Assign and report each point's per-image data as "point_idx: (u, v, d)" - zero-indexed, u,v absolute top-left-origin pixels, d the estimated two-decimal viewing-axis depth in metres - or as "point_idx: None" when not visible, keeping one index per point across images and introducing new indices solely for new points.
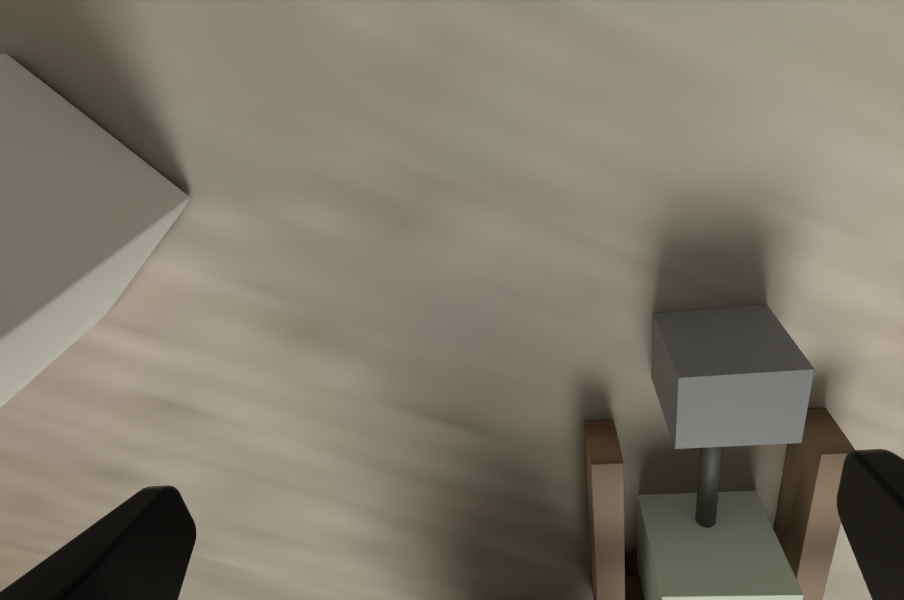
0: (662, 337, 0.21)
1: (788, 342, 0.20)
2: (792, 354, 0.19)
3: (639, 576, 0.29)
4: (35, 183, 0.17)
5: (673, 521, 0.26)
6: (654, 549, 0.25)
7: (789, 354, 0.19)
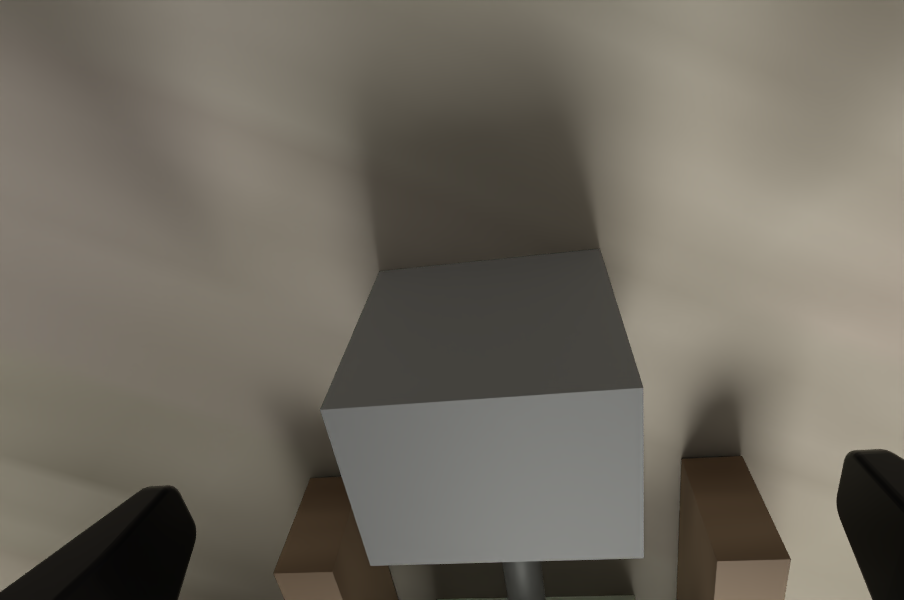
0: (361, 317, 0.10)
1: (609, 322, 0.08)
2: (606, 350, 0.08)
3: None
4: None
5: None
6: None
7: (599, 350, 0.08)
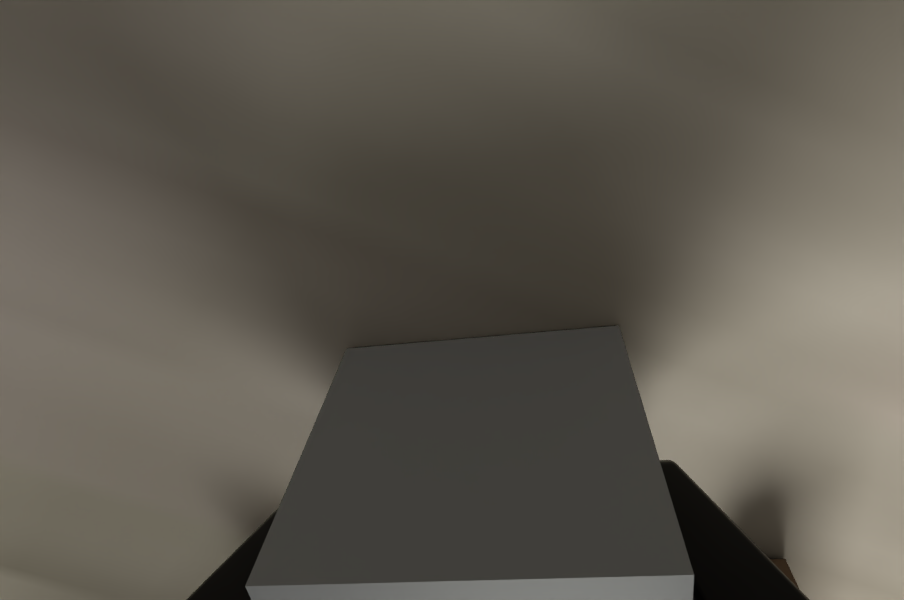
0: (318, 420, 0.08)
1: (638, 449, 0.06)
2: (636, 498, 0.06)
3: None
4: None
5: None
6: None
7: (627, 499, 0.06)
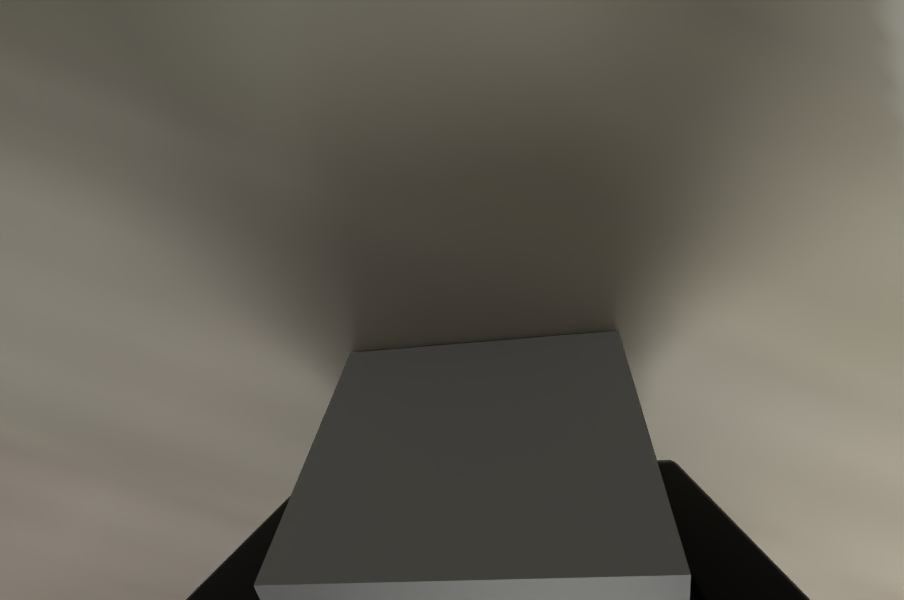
0: (323, 423, 0.08)
1: (637, 452, 0.07)
2: (635, 501, 0.06)
3: None
4: None
5: None
6: None
7: (626, 501, 0.06)
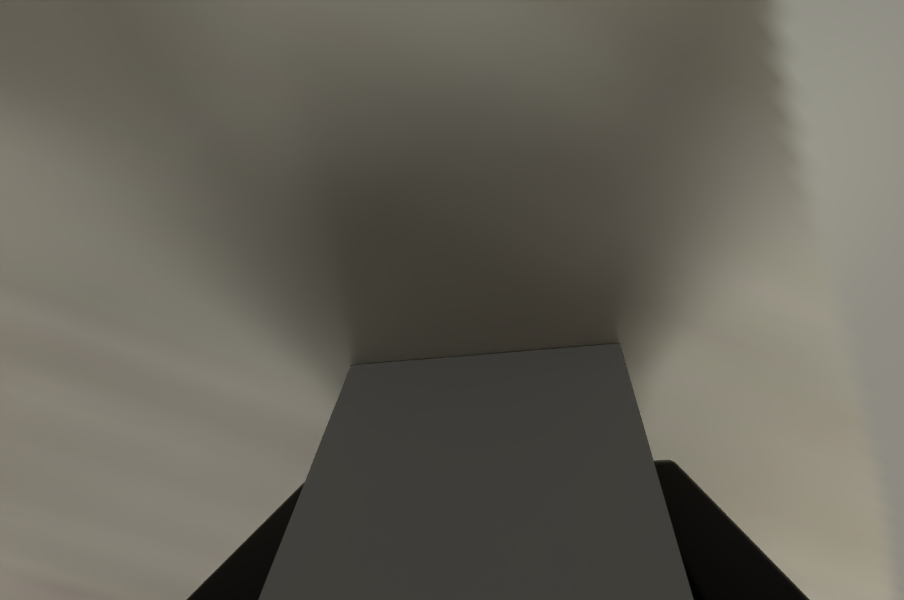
0: (324, 439, 0.08)
1: (639, 471, 0.07)
2: (638, 522, 0.06)
3: None
4: None
5: None
6: None
7: (628, 522, 0.06)
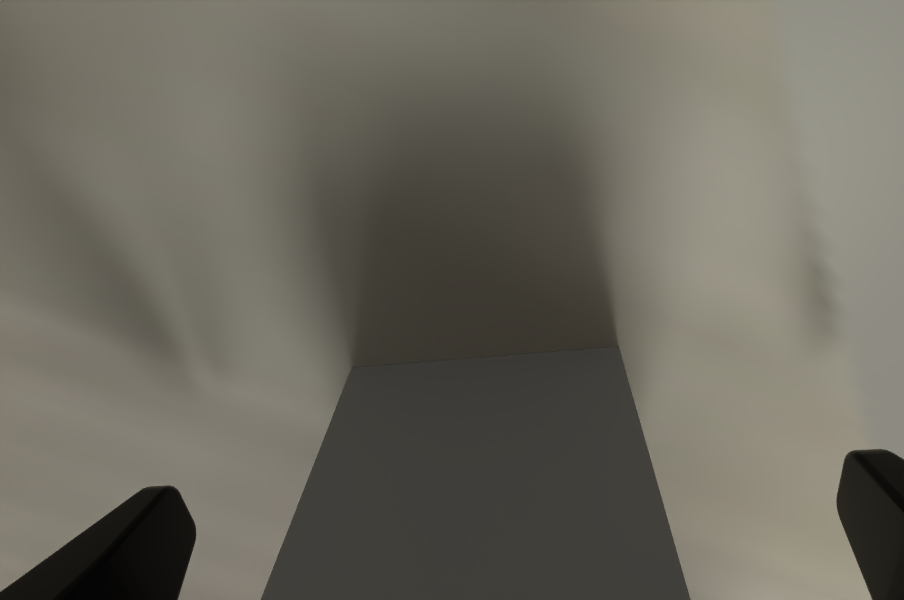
0: (325, 441, 0.08)
1: (637, 473, 0.07)
2: (635, 524, 0.06)
3: None
4: None
5: None
6: None
7: (626, 524, 0.06)
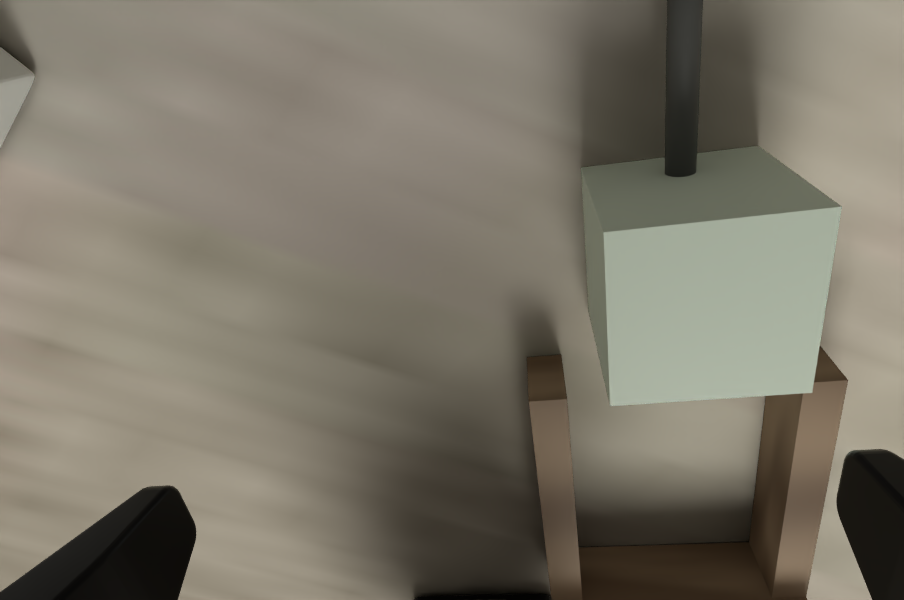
0: None
1: None
2: None
3: (590, 318, 0.20)
4: None
5: (631, 178, 0.17)
6: (598, 200, 0.15)
7: None
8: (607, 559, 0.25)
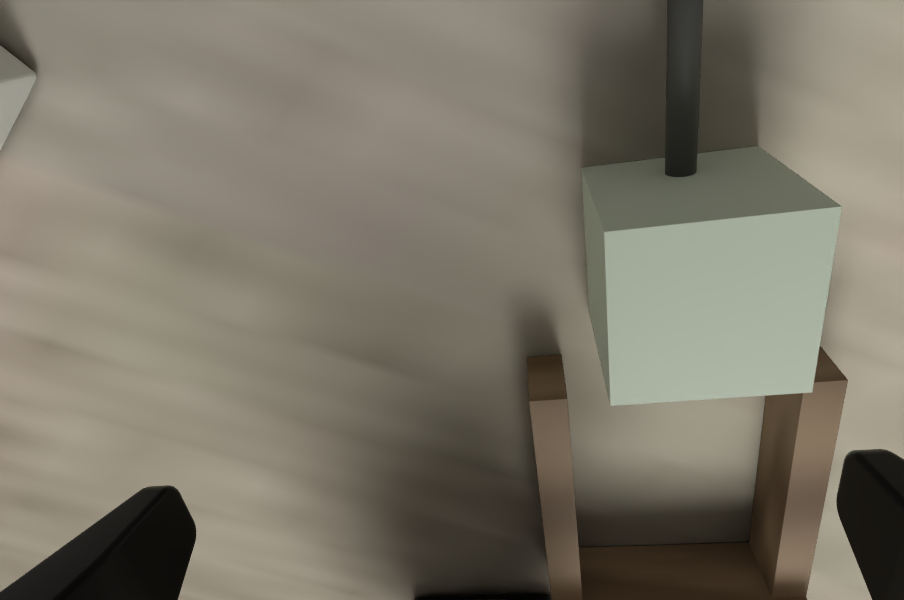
0: None
1: None
2: None
3: (590, 318, 0.20)
4: None
5: (631, 178, 0.17)
6: (599, 199, 0.16)
7: None
8: (607, 559, 0.25)
